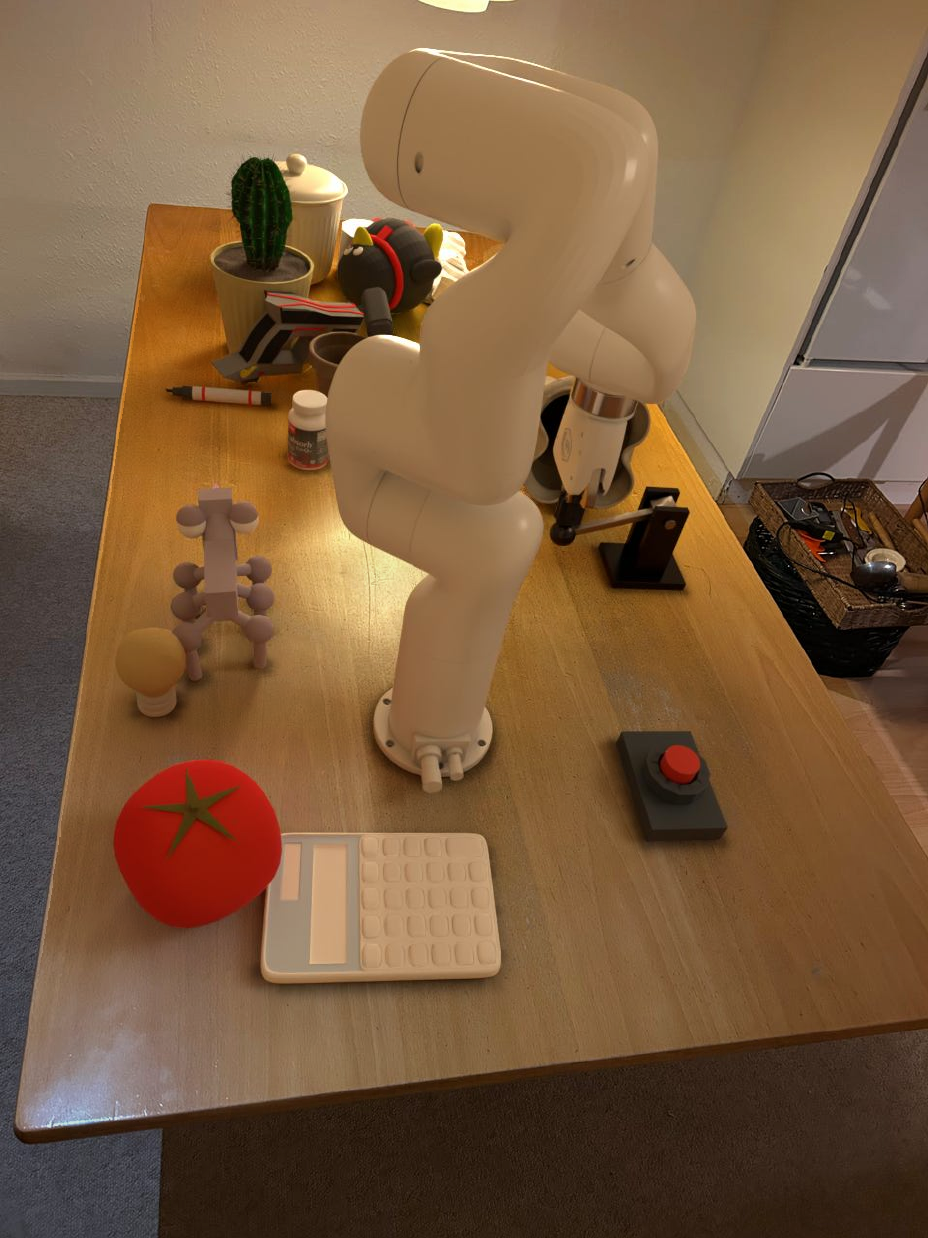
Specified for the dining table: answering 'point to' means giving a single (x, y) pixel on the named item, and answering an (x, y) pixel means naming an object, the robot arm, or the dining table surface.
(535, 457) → the vase
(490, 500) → the robot arm
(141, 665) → the light bulb
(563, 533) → the lever
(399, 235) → the toy
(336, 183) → the canister
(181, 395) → the marker
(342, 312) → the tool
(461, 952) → the calculator
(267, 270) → the potted cactus
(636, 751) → the button box
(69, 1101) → the dining table surface
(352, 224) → the toilet tissue
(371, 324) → the card reader
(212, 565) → the toy insect
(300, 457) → the pill bottle
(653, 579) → the bracket
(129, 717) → the dining table surface
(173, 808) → the tomato
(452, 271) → the figure
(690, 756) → the button
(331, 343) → the flower pot
